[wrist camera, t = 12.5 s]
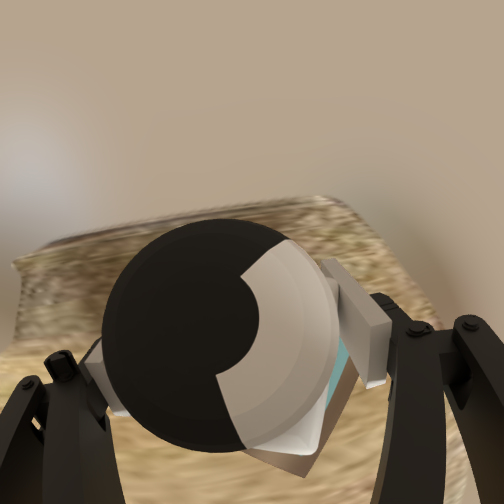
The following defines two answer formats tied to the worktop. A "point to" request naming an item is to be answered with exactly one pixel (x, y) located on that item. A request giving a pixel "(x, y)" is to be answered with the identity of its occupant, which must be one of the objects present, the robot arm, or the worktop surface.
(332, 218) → the worktop surface
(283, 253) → the medicine bottle
